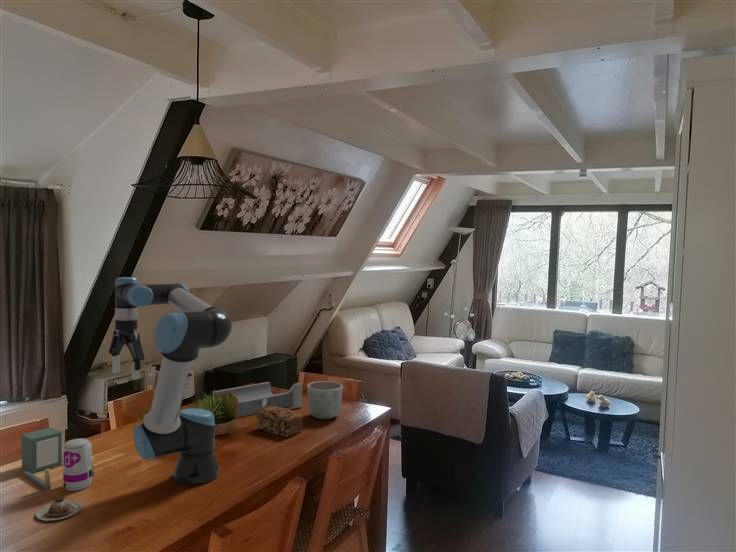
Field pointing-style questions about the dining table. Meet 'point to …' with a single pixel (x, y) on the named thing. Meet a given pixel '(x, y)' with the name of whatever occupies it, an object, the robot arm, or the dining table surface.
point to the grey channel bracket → (263, 397)
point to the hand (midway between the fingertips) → (126, 375)
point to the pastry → (58, 509)
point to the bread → (279, 421)
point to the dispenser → (43, 454)
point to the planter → (324, 399)
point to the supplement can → (77, 464)
